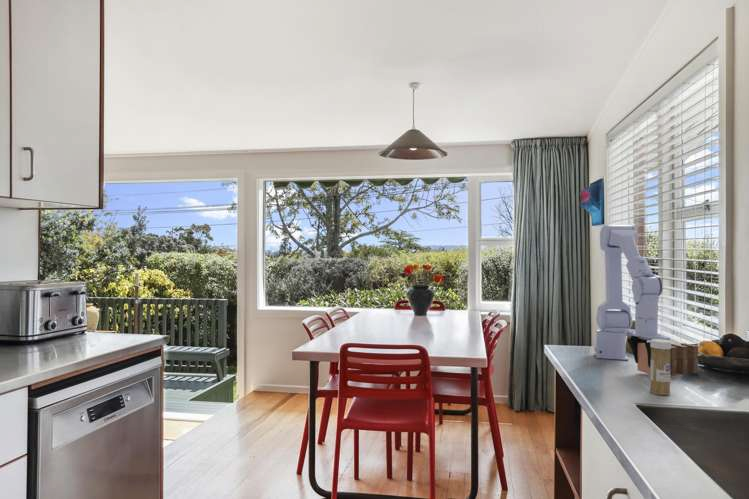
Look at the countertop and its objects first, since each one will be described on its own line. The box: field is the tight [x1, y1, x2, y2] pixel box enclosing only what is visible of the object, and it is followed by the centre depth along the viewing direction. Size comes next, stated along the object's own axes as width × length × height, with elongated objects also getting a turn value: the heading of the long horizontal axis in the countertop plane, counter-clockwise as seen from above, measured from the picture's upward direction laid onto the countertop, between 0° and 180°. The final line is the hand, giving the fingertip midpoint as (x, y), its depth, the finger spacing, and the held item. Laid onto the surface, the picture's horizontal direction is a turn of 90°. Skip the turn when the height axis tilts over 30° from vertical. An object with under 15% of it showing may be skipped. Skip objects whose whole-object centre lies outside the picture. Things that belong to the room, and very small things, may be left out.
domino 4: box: [680, 342, 699, 374], centre depth 150 cm, size 2×4×8 cm, turn 16°
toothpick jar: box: [649, 339, 672, 396], centre depth 127 cm, size 5×5×14 cm
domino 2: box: [670, 346, 677, 376], centre depth 147 cm, size 2×4×8 cm, turn 16°
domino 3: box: [671, 343, 688, 375], centre depth 149 cm, size 2×4×8 cm, turn 16°
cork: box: [626, 319, 635, 354], centre depth 176 cm, size 6×6×11 cm
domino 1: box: [636, 343, 650, 375], centre depth 145 cm, size 2×4×8 cm, turn 16°
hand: (645, 364), depth 145 cm, fingers closed on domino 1, 4 cm apart
